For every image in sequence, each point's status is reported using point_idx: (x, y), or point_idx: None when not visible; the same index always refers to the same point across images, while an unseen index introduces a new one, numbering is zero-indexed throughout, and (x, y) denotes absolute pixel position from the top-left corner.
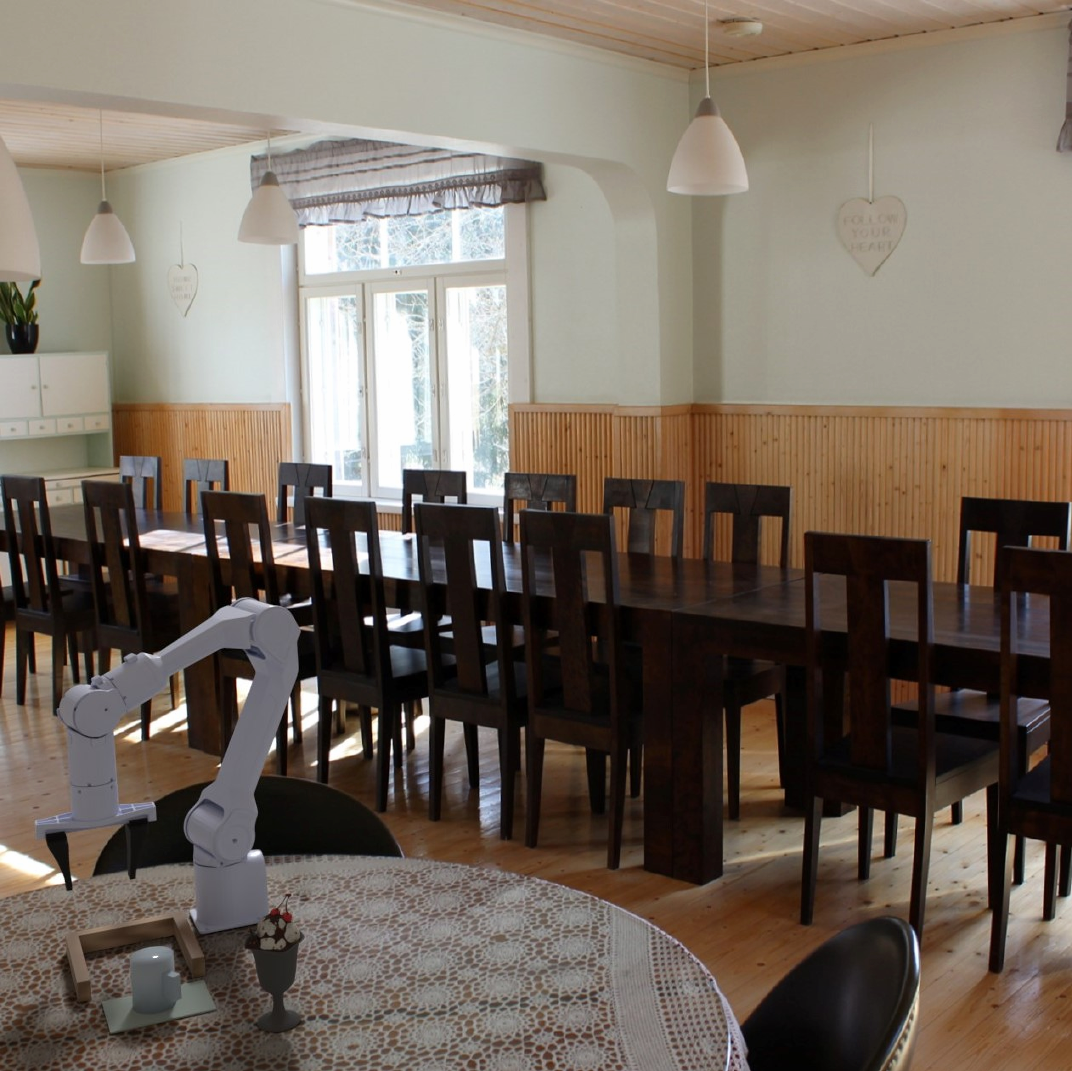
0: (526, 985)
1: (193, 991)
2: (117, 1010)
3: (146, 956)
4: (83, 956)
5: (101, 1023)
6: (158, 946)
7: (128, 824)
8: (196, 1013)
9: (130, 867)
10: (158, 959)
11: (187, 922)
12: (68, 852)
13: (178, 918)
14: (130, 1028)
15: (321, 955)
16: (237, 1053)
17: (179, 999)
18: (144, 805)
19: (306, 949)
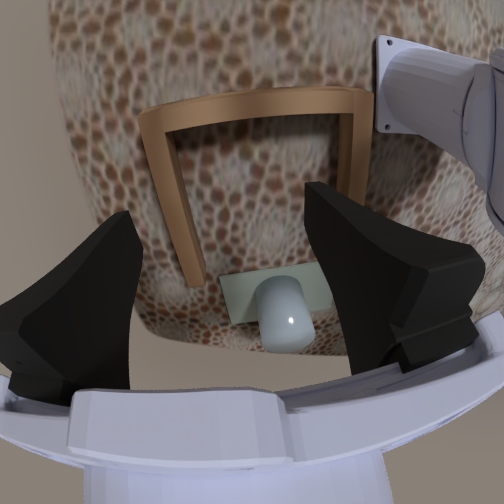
0: (478, 302)
1: (321, 279)
2: (237, 295)
3: (282, 340)
4: (185, 219)
5: (221, 307)
6: (302, 325)
7: (388, 357)
8: (312, 311)
9: (317, 259)
10: (294, 346)
11: (369, 147)
12: (128, 377)
13: (360, 122)
14: (250, 321)
15: (446, 238)
16: (322, 349)
17: (304, 289)
18: (482, 400)
19: (445, 221)
